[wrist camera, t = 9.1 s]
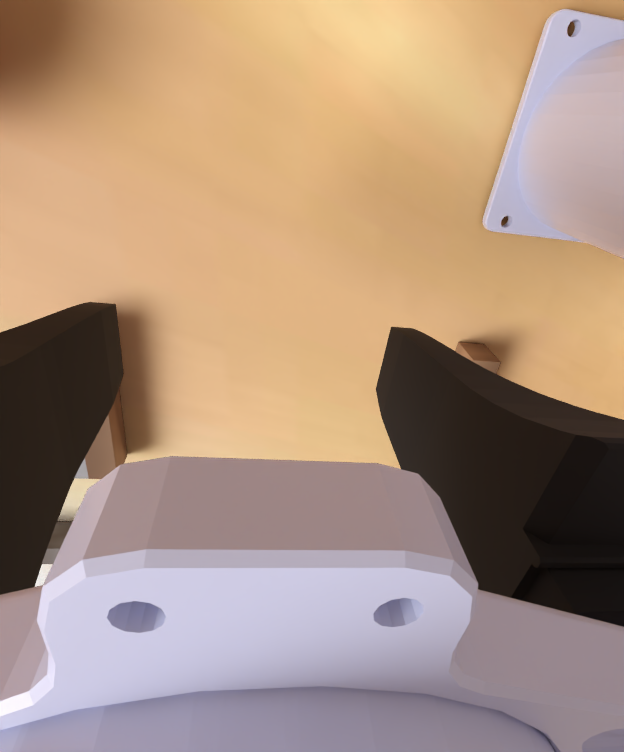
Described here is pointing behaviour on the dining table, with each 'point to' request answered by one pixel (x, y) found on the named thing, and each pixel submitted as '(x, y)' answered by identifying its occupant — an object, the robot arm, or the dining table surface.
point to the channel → (113, 452)
